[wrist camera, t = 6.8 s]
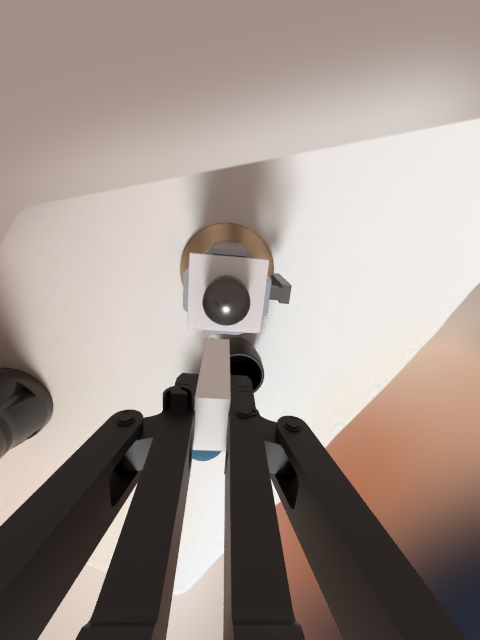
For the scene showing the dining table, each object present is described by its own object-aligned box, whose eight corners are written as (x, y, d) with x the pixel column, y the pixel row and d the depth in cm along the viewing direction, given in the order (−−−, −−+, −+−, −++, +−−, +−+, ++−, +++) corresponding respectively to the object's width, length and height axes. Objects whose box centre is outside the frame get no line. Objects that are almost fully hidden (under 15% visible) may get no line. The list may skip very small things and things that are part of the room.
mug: (190, 347, 53) (182, 372, 44) (249, 324, 52) (253, 345, 43) (207, 382, 55) (203, 412, 46) (264, 361, 54) (271, 388, 45)
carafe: (196, 299, 49) (181, 333, 34) (198, 239, 46) (183, 246, 30) (270, 304, 50) (289, 340, 34) (277, 246, 47) (302, 256, 31)
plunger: (199, 304, 41) (188, 334, 30) (201, 252, 39) (191, 263, 28) (250, 308, 42) (258, 339, 31) (255, 257, 40) (266, 269, 28)
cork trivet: (179, 312, 51) (179, 313, 50) (181, 218, 46) (181, 218, 45) (267, 318, 52) (267, 320, 51) (278, 228, 47) (279, 228, 46)
